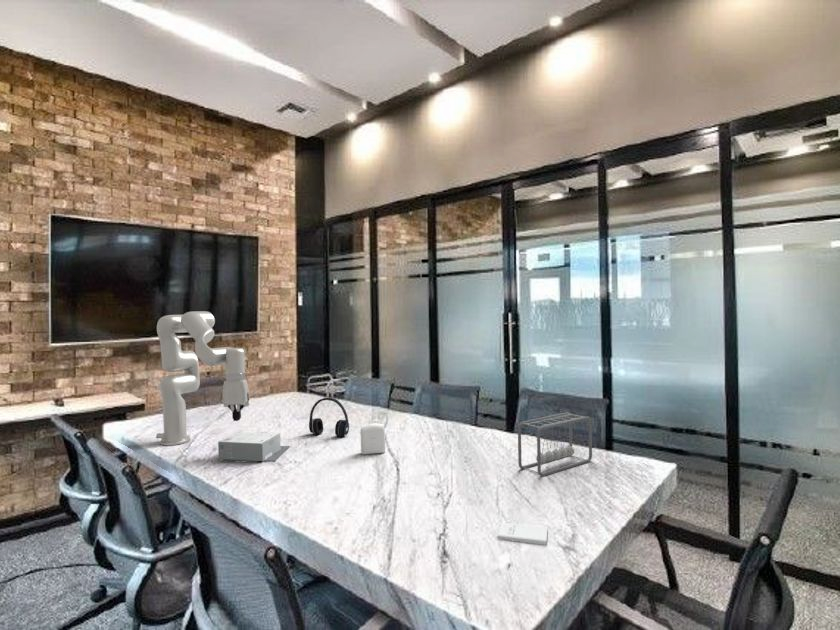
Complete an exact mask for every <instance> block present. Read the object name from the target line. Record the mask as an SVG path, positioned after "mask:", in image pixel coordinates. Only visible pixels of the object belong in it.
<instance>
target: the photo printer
mask: <svg viewBox="0 0 840 630" xmlns="http://www.w3.org/2000/svg"><path fill="white" fill-rule="evenodd" d="M384 426H385V425H384V424H381V423H375V422H373V423H372V422H371V423H367V424H364V425H362V426H361V429H360V447H361V448H360V453H361V455H370V454H383V453H386V434H385V433H386V432H385V431H386V430H385V427H384Z"/></svg>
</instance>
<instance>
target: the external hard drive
mask: <svg viewBox="0 0 840 630" xmlns="http://www.w3.org/2000/svg"><path fill="white" fill-rule="evenodd" d="M548 533H549V529H548V526H540V525H538V526H537V525H531V524H530V525H529V524H528V525H527V524H519V523H510V522H501V523H500V527H499V530H498V533H497V540H502V539H505V540H504V541H510V540H513V541H512V542H517V541H520V542H519V543H525V542H527V543H526V544H533V543H535V545H542V546H547V544H548ZM528 542H529V543H528Z"/></svg>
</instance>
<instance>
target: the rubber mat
mask: <svg viewBox="0 0 840 630" xmlns="http://www.w3.org/2000/svg"><path fill="white" fill-rule="evenodd" d="M289 448H291V445H281V450H280V451H278V452H277V453H275V454H274V455H272V456H271V457H269V458H267V459H266V460H264V461H273V462H277V460H278V459H279V458H280V457H282V455H283V454H284V453H286V452H287V450H289ZM232 461H233V462H232ZM234 461H235V462H234ZM236 461H240V462H239V463H242V462H241V461H243V460H221V463H237V462H236Z"/></svg>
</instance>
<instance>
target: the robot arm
mask: <svg viewBox="0 0 840 630" xmlns="http://www.w3.org/2000/svg"><path fill="white" fill-rule="evenodd" d="M215 323H216V319H215V316H214V315H213V314H212V312H210V311H207V310H206V311H205V310H203V311H201V310H200V311H187V312H184V314H168V315H163V316H161V317H160V318H159V319H158V321H157V324H156V333H157V336H158V340H159V342H160V355H161V366H162V368H163V371H165V372H167V373H175V372H181V371H182V372H183V373H177V374H169V375H167V376H165V377H162V379H161V380H160V382H159V390H160V393H161V398H162V399H161V400H162V415H163V416H162V418H163V419H162V421H163V432H159V433H156V434H155V435H156V436H155V438H156V439H161V440H160V441H159V444H160V445H162V446H176V445H181V444H185V443H189V441H191V437H190V436H189V435H187V432H188V431H187V408H186V407H187V404H186V400H185V399H184V398H183V397H182V395H183V394H188V393H193V392H196V391H197V390H199V387H200V385H201V382H200V381H201V376H200V375H201V374H200V365H199V364H200V363H199V360H200V361H201V362H202V363H203V364H204V365H205V366H208V367H216V366H218V367H219V366H225V374H223V375H222V378H223V379H225V380H224V381H223V387H222V396H221V397H222V398H221V401H222V404H223V405H222V406H223V407H225V408H228V409H229V410H230V411H231V412H232V415H231V416H232V417H231V418H232V420H233V422H235V421H236V422H238V421H239V420H241V418H242V410H243V409H244V408H245V407H249V406H250V402H249V401H250V390H249V385H248V381H247V379H246V362H245V361H246V357H245V350H244V349H243V348H241V347H235V348H234V347H232V346H223V347H221V346H220V347H213V348H211V347H210V346H209V345H207V344H208V343H210V342H211V341H212V340H213V338H214V337H215V330H214V328H213V327H214V325H215ZM176 333H180V334H181V333H188V334H189V335H190V336H191V337H192V338H193V339H194V340H195V343H194V351H195V352H194V351H193V350H189V349H188V350H182V342H181V339H180V338H179V336H178V335H177V334H176Z"/></svg>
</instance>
